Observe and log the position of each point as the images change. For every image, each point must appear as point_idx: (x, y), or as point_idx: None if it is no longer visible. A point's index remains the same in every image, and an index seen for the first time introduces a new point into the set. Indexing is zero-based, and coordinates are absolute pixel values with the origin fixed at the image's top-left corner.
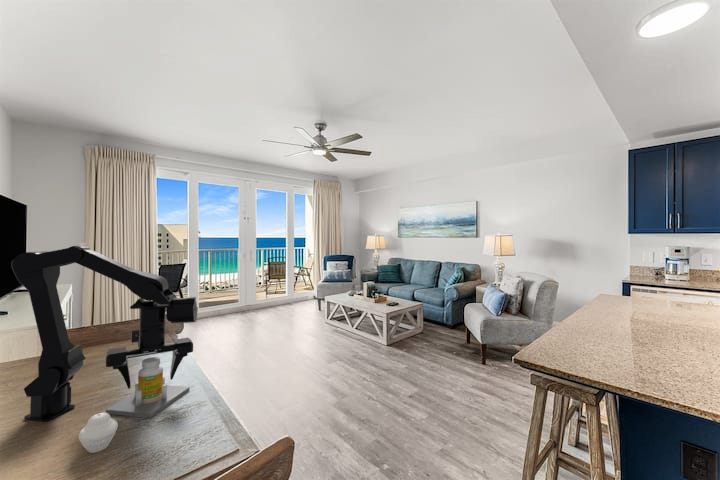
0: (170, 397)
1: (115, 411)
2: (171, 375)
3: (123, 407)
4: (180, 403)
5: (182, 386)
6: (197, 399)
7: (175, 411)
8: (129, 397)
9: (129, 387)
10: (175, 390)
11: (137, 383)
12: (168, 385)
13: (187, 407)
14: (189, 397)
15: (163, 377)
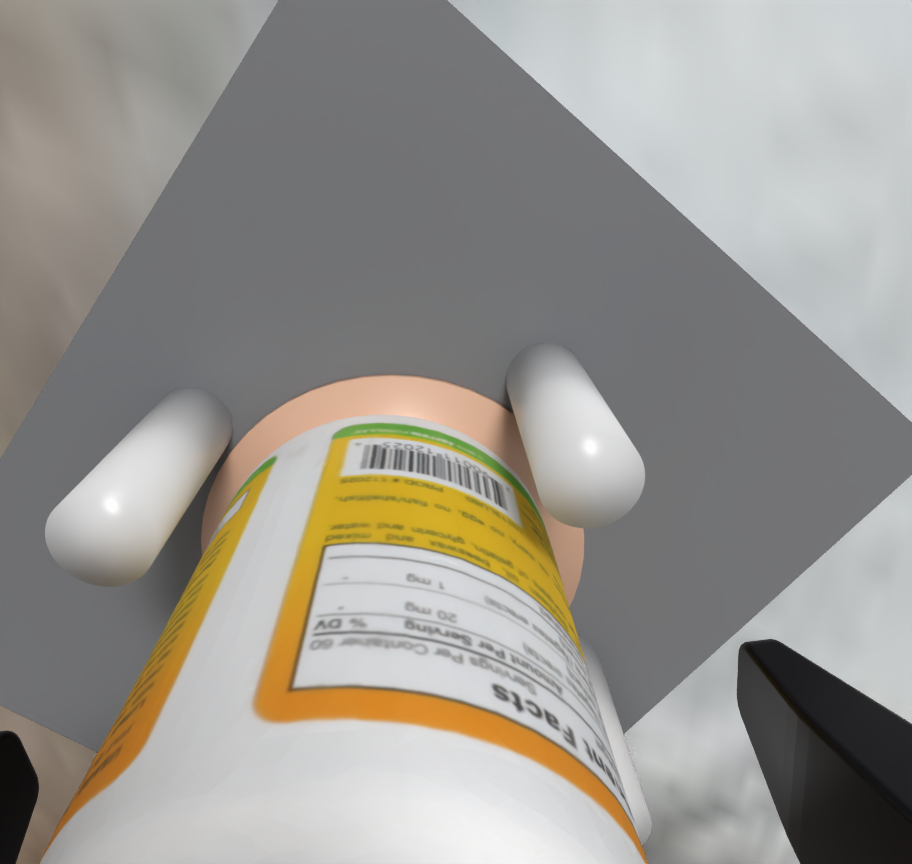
0: (640, 662)
1: (34, 710)
2: (790, 825)
3: (100, 685)
4: (722, 715)
5: (855, 378)
6: (906, 703)
7: (651, 840)
8: (80, 422)
9: (16, 825)
10: (731, 481)
11: (102, 571)
12: (657, 214)
13: (768, 815)
14: (845, 621)
15: (616, 476)
